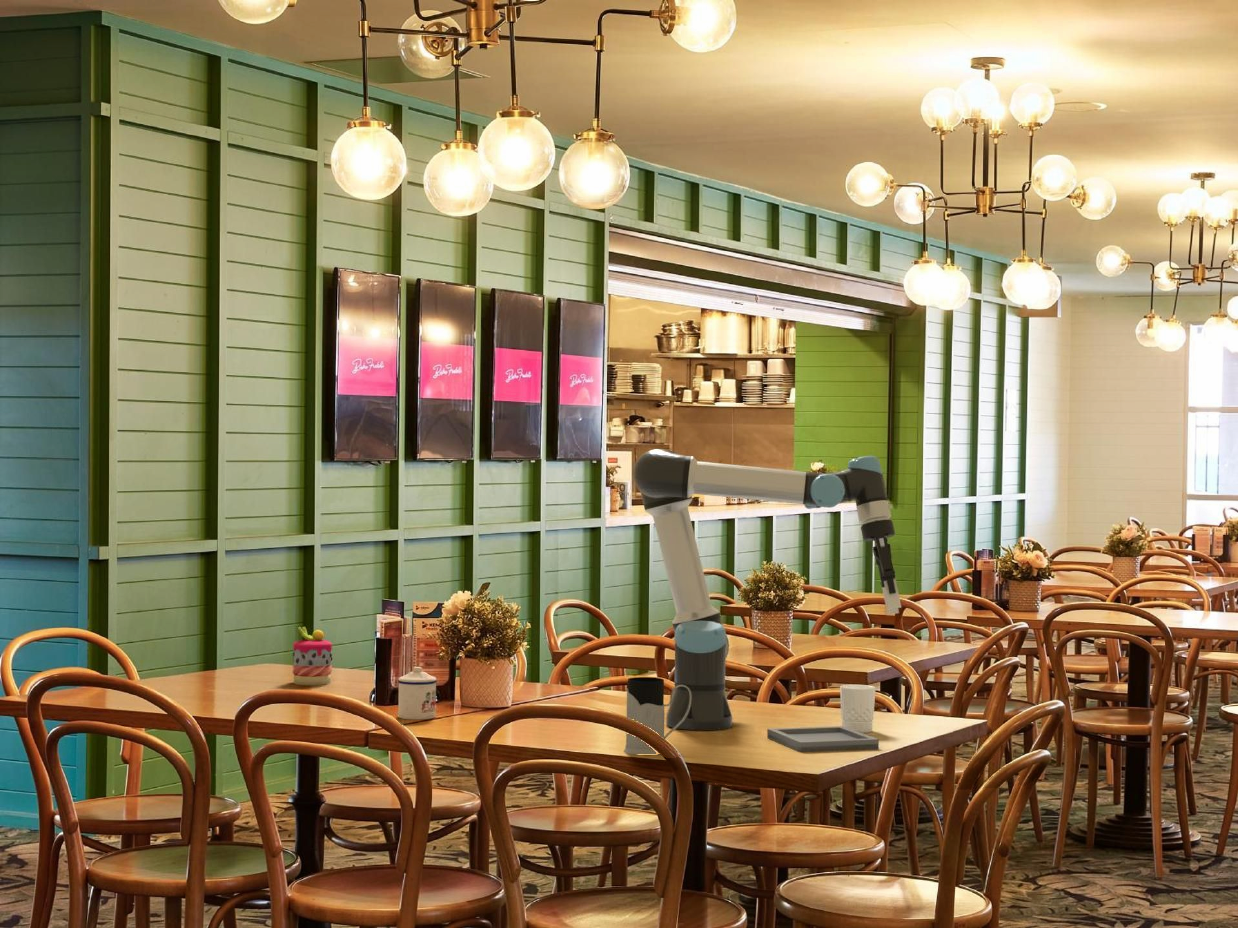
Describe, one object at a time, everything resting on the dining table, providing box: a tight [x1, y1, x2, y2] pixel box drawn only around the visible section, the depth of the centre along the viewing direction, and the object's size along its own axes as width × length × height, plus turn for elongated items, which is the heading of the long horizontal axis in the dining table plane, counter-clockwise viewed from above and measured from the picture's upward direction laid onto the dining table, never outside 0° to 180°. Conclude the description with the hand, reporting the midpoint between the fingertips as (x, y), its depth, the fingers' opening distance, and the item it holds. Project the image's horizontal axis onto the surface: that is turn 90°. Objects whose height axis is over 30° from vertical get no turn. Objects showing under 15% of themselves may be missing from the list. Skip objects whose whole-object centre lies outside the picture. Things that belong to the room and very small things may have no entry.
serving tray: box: [766, 725, 880, 753], centre depth 343 cm, size 18×18×2 cm
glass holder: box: [623, 676, 692, 755], centre depth 330 cm, size 9×14×15 cm, turn 103°
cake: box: [292, 626, 333, 686], centre depth 429 cm, size 10×11×15 cm
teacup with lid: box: [397, 666, 438, 721], centre depth 373 cm, size 12×9×12 cm
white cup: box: [839, 683, 876, 734], centre depth 360 cm, size 8×8×10 cm
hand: (894, 611), depth 368 cm, fingers open, 13 cm apart
